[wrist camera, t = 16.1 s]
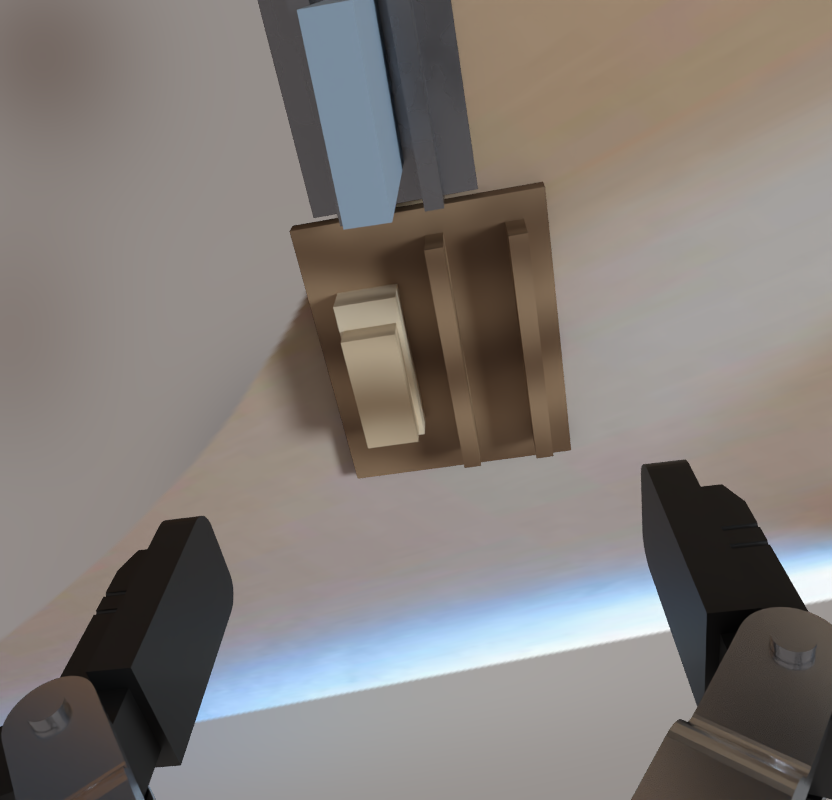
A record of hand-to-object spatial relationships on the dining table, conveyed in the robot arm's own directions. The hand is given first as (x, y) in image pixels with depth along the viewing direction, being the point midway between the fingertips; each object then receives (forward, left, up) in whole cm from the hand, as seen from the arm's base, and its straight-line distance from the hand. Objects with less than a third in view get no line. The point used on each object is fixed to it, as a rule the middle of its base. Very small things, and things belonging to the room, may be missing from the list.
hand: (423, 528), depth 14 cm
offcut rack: (+11, -2, -30) cm, 32 cm away
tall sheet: (-4, -3, -29) cm, 30 cm away
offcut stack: (+11, -5, -29) cm, 32 cm away
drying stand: (-4, -3, -30) cm, 31 cm away
